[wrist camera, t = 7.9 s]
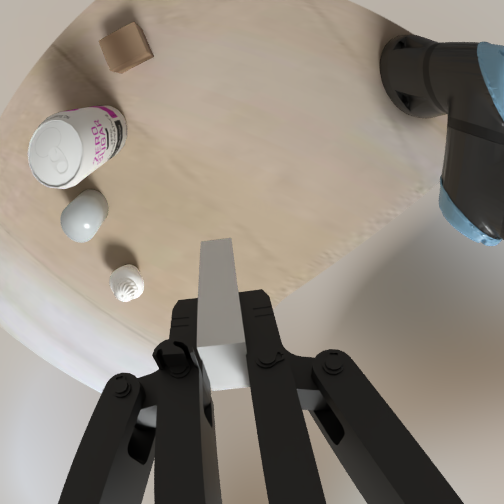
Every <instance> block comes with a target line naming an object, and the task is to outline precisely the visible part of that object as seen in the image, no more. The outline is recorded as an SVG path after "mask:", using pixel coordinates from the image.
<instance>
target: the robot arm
mask: <svg viewBox="0 0 504 504" xmlns="http://www.w3.org/2000/svg"><path fill="white" fill-rule="evenodd" d="M380 71H381V77H382V81H383V85H384V87H385V90H386V92H387V94H388V96H389V97H390V99H391V100H392V102H393V103H394V104H395V105H396V106H397V107H398V108H399V109H400V110H402V111H403V112H405V113H406V114H408V115H411V116H415V117H419V118H432V117H436V116H441V115H445V114H448V124H447V137H446V146H445V155H444V163H443V169H442V175H441V177H440V185H441V186H440V194H439V207H440V209H441V211H442V213H443V216H444V217H445V218H446V220H447V221H448V222H449V223H450V224H451V225H452V226H453V227H454V228H455V229H457V230H458V231H459V232H460V233H462V234H463V235H465V236H466V237H468V238H469V239H471V240H473V241H476V242H478V243H479V242H482V243H483V244H484V245H487V246H494V245H497V244H499V242H501V241H502V239H503V240H504V46H502V45H495V44H490V43H488V42H480V43H475V42H446V43H438V42H435V41H432V40H430V39H427V38H424V37H420V36H417V35H404V36H398V37H396V38H394V39H392V40H391V41H389V42H388V44H387V45H386V46H385V48H384V50H383V53H382V56H381V62H380ZM152 356H153V358H154V360H155V361H156V363H157V365H158V367H159V370H157V371H156V372H154V373H152V374H149V375H146V376H143V377H140V378H136V377H135V376H134V375H132V374H130V373H120V374H117V375H115V376H113V377H112V378H110V380H109V381H108V382H107V384H106V386H105V388H104V390H103V392H102V394H101V396H100V399H99V401H98V403H97V405H96V408H95V410H94V412H93V414H92V416H91V419H90V421H89V423H88V426H87V428H86V431H85V433H84V435H83V438H82V440H81V443H80V445H79V448H78V450H77V452H76V455H75V458H74V460H73V463H72V465H71V468H70V471H69V474H68V476H67V479H66V482H65V484H64V488H63V490H62V493H61V496H60V500H59V502H58V504H141V503H142V499H143V496H144V492H145V488H146V485H147V481H148V478H149V474H150V471H151V468H152V464H153V461H154V457H155V465H154V466H155V468H154V495H155V504H222V499H221V489H220V480H219V470H218V459H217V447H216V436H215V421H214V405H213V401H212V398H211V391H210V389H212V391H214V390H226V389H235V388H243V387H251V395H252V402H253V408H254V414H255V421H256V427H257V434H258V441H259V447H260V453H261V459H262V465H263V471H264V477H265V483H266V489H267V495H268V500H269V504H326V501H325V497H324V493H323V489H322V485H321V481H320V477H319V473H318V469H317V465H316V462H315V458H314V454H313V450H312V446H311V442H310V439H309V434H308V431H307V427H306V423H305V419H304V416H303V412H302V410H308V411H309V412H310V414H311V416H312V417H313V418H314V421H315V422H316V424H317V425H318V427H319V429H320V430H321V432H322V434H323V435H324V437H325V438H326V440H327V442H328V443H329V445H330V446H331V448H332V449H333V451H334V453H335V454H336V456H337V457H338V459H339V461H340V462H341V464H342V465H343V467H344V468H345V470H346V472H347V473H348V475H349V476H350V478H351V479H352V481H353V482H354V484H355V485H356V487H357V489H358V490H359V492H360V493H361V494H362V496H363V497H364V499H365V501H366V502H367V504H464V503H463V502H462V501H461V499H460V498H459V496H458V495H457V494H456V493H455V491H454V490H453V488H452V487H451V486H450V485H449V483H448V482H447V481H446V479H445V478H444V477H443V475H442V474H441V473H440V471H439V470H438V469H437V467H436V466H435V465H434V464H433V463H432V461H431V460H430V458H429V457H428V456H427V454H426V453H425V452H424V450H423V449H422V448H421V447H420V445H419V444H418V443H417V441H416V440H415V439H414V438H413V436H412V435H411V434H410V432H409V431H408V430H407V429H406V427H405V426H404V425H403V423H402V422H401V421H400V420H399V418H398V417H397V416H396V414H395V413H394V412H393V411H392V409H391V408H390V407H389V405H388V404H387V403H386V402H385V400H384V399H383V398H382V397H381V396H380V394H379V393H378V391H377V390H376V389H375V388H374V386H373V385H372V384H371V383H370V381H369V380H368V379H367V378H366V376H365V375H364V374H363V372H362V371H361V370H360V369H359V367H358V366H357V365H356V364H355V362H354V361H353V360H352V359H351V357H349V356H348V355H347V354H346V353H345V352H342V351H340V350H333V349H329V350H325V351H322V352H321V353H319V354H318V355H317V356H316V357H315V358H312V357H301V356H296V355H294V354H291V353H290V352H288V351H287V350H286V349H285V348H284V347H283V345H282V342H281V339H280V335H279V331H278V328H277V324H276V320H275V316H274V313H273V309H272V305H271V301H270V297H269V296H268V295H267V294H266V293H265V292H264V291H263V290H262V289H261V290H253V291H246V292H238V286H237V278H236V271H235V263H234V256H233V248H232V240H231V238H226V239H218V240H210V241H202V242H201V249H200V266H199V287H198V298H194V299H185V300H178V302H177V303H176V305H175V306H174V308H173V311H172V320H171V328H170V335H169V339H168V340H165V341H163V342H162V343H160V344H159V345H158V346H157V347H156V348H155V349H154V352H153V355H152ZM210 386H211V388H210Z"/></svg>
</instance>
